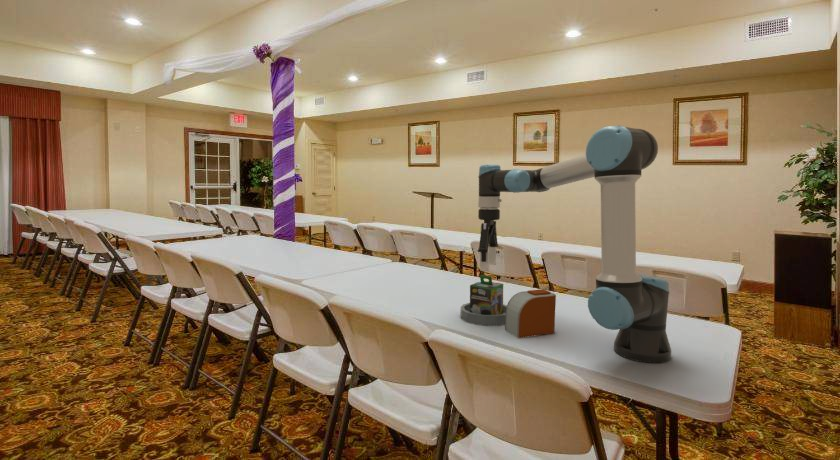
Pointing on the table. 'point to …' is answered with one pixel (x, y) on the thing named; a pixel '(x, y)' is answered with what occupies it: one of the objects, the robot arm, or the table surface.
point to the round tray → (482, 317)
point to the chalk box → (486, 297)
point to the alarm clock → (531, 313)
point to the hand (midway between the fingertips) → (488, 267)
